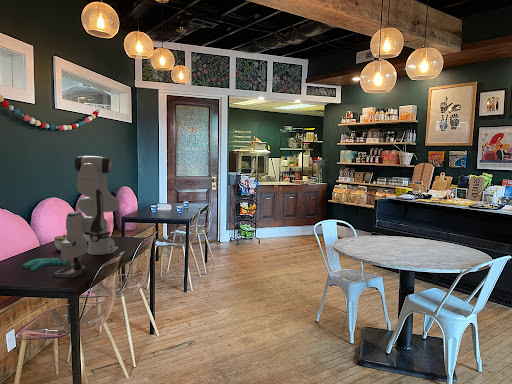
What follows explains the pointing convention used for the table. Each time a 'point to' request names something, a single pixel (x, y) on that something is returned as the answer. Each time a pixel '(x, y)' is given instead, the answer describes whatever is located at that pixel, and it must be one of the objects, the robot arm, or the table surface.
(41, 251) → the table surface
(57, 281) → the table surface
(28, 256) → the table surface
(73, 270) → the tile
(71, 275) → the bay
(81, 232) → the robot arm
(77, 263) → the stepped dark grey block
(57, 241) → the lidded bowl
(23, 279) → the table surface
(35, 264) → the teal pixel invader
